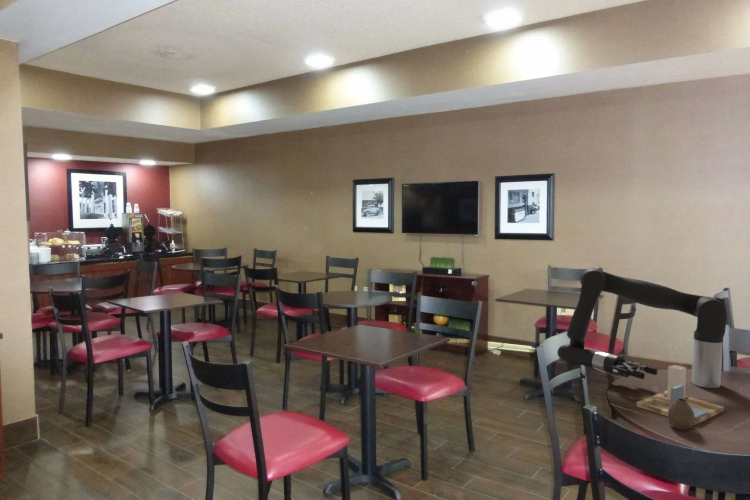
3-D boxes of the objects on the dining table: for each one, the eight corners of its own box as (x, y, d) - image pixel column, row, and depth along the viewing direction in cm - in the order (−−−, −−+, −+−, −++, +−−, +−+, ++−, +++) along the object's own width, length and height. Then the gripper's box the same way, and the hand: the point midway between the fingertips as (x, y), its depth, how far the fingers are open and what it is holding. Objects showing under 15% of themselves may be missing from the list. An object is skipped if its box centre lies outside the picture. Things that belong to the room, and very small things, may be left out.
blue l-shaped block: (680, 405, 167) (681, 383, 166) (707, 413, 160) (708, 390, 160) (668, 410, 162) (669, 388, 162) (695, 418, 156) (696, 395, 155)
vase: (690, 425, 157) (692, 397, 156) (696, 434, 150) (698, 405, 150) (665, 421, 159) (666, 394, 159) (670, 430, 153) (671, 402, 152)
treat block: (672, 398, 178) (674, 364, 177) (684, 401, 175) (686, 367, 174) (666, 400, 176) (668, 366, 175) (679, 404, 173) (680, 369, 172)
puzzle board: (666, 396, 182) (666, 390, 182) (723, 412, 167) (723, 406, 167) (636, 407, 170) (636, 401, 170) (694, 426, 156) (694, 420, 156)
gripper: (597, 356, 191) (640, 367, 178) (618, 350, 199) (661, 360, 186) (596, 375, 192) (639, 388, 178) (617, 369, 200) (660, 380, 186)
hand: (650, 374), depth 182 cm, fingers open, 8 cm apart
